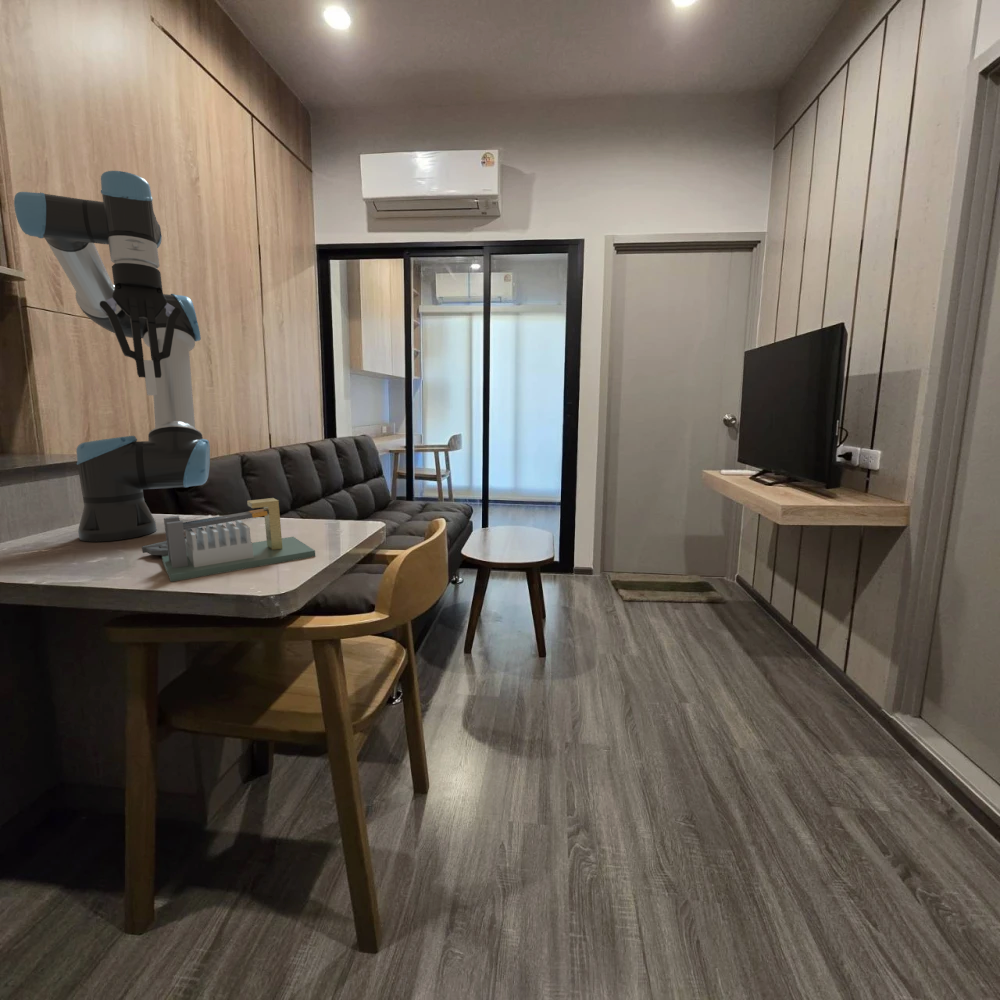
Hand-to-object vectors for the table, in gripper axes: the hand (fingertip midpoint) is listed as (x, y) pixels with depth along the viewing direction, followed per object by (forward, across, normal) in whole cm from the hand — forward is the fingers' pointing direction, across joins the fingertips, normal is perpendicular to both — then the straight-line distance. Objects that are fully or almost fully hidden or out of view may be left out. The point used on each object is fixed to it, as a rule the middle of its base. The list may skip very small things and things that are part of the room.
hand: (152, 395), depth 101 cm
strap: (+25, +8, -12) cm, 28 cm away
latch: (+31, +16, -12) cm, 37 cm away
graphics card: (+33, +4, +4) cm, 34 cm away
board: (+32, +10, -12) cm, 36 cm away
